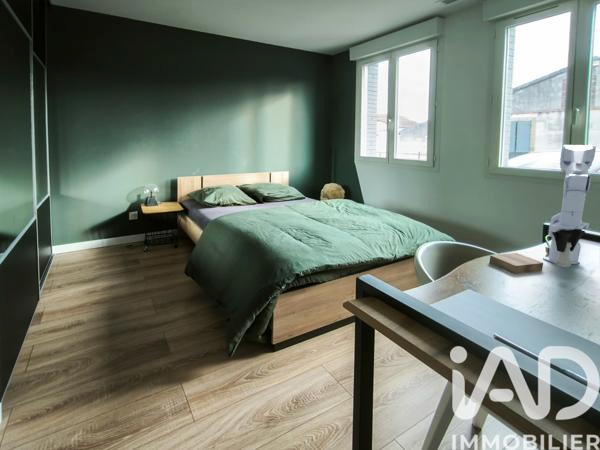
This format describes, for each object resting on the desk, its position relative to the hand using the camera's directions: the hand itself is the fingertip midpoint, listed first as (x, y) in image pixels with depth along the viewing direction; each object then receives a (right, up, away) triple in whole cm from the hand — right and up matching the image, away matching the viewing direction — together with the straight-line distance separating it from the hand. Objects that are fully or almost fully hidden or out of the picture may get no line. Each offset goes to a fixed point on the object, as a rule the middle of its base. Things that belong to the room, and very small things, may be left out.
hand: (564, 250), depth 123 cm
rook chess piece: (0, -5, +1) cm, 5 cm away
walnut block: (-9, -7, +13) cm, 17 cm away
